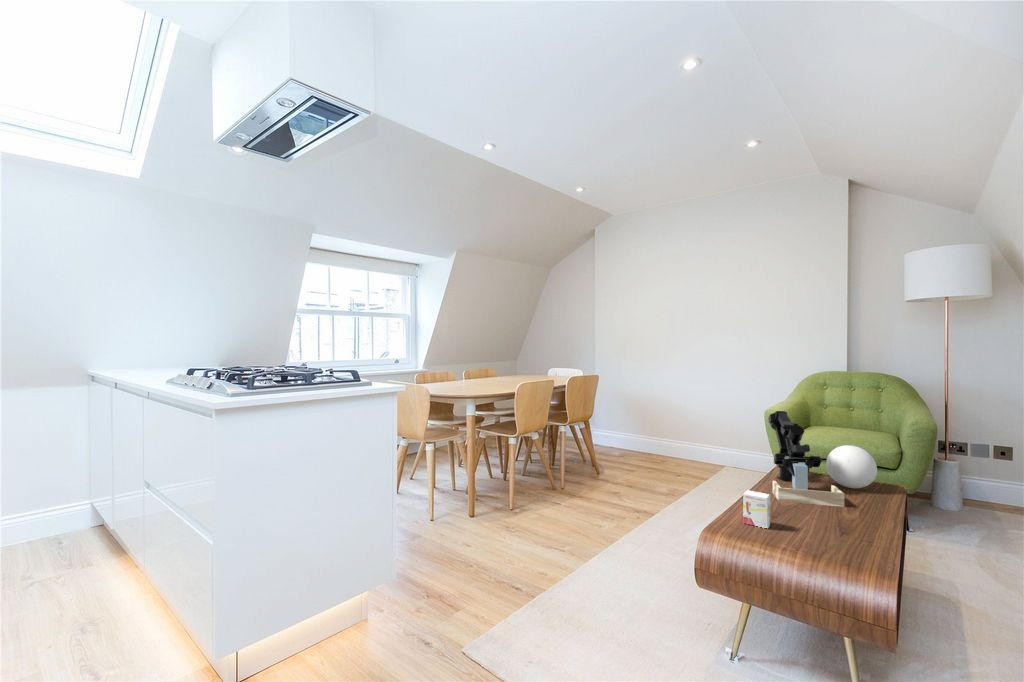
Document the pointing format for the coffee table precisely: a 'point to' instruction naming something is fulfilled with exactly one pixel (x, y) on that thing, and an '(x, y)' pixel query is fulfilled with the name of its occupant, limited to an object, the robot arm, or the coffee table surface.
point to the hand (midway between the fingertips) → (800, 476)
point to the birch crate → (809, 496)
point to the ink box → (756, 509)
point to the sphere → (851, 466)
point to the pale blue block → (800, 476)
